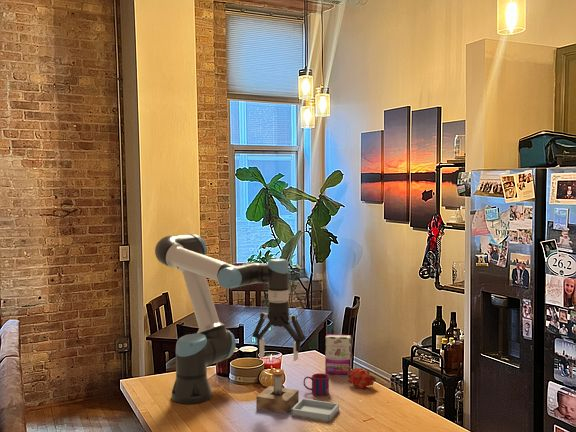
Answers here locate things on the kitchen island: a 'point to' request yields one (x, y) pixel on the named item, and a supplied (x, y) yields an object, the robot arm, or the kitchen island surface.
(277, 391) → the pin
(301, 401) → the tray
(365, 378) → the dragon fruit
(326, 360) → the candy bar box
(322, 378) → the mug
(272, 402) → the socket block
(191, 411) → the kitchen island surface
